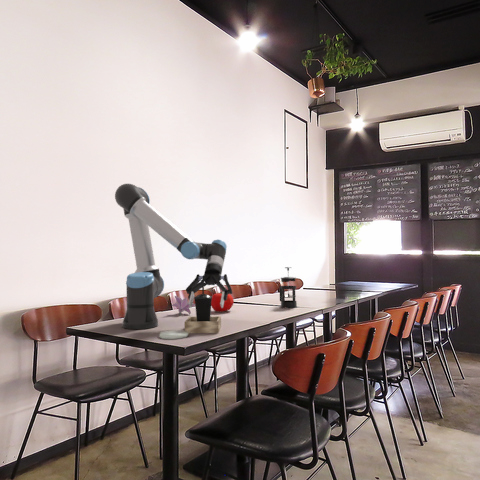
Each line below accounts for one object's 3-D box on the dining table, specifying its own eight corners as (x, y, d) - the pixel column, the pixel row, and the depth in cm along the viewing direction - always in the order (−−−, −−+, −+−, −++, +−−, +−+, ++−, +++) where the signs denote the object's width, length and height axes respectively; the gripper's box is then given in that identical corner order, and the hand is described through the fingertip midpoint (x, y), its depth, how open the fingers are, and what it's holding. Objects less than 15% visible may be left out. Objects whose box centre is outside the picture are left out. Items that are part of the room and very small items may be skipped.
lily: (198, 317, 214) (199, 299, 219) (181, 310, 206) (182, 292, 211) (182, 322, 220) (183, 305, 225) (165, 315, 213) (167, 298, 218)
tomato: (212, 310, 231) (212, 291, 231) (234, 309, 231) (234, 290, 231) (209, 313, 218) (209, 293, 218) (232, 313, 217) (232, 293, 218)
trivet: (156, 339, 154) (156, 336, 154) (162, 333, 165) (162, 330, 165) (185, 339, 154) (185, 335, 154) (190, 333, 165) (190, 330, 165)
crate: (184, 333, 165) (184, 321, 165) (189, 327, 179) (189, 316, 179) (218, 332, 165) (218, 321, 165) (221, 326, 179) (220, 316, 179)
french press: (301, 307, 238) (300, 267, 238) (290, 308, 232) (289, 267, 232) (286, 305, 247) (285, 266, 247) (275, 306, 241) (274, 267, 241)
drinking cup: (203, 327, 177) (202, 280, 178) (216, 329, 172) (215, 281, 173) (190, 330, 171) (189, 281, 172) (203, 332, 167) (203, 282, 167)
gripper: (242, 273, 187) (236, 311, 172) (189, 273, 192) (179, 310, 177) (240, 261, 182) (233, 300, 167) (185, 262, 187) (174, 300, 172)
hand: (205, 305), depth 172 cm, fingers open, 13 cm apart
